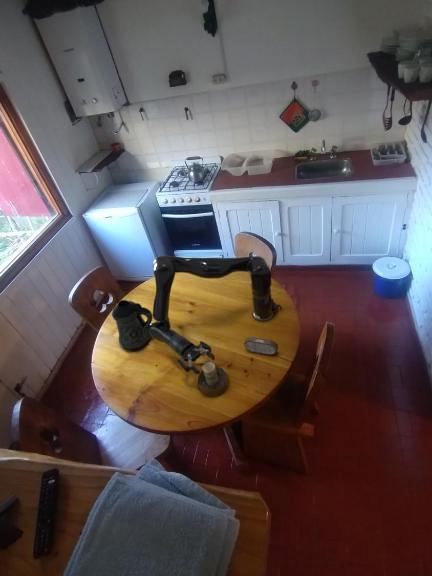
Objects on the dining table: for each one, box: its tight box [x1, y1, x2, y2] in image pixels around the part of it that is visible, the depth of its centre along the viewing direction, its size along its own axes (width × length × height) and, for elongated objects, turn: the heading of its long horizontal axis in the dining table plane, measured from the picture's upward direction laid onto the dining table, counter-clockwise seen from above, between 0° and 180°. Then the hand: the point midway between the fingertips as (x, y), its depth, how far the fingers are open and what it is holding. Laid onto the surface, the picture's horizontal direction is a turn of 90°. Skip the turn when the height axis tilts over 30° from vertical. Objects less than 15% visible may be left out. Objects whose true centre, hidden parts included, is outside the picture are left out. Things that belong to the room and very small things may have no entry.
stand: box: [197, 365, 229, 397], centre depth 145 cm, size 12×12×4 cm
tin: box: [243, 336, 279, 356], centre depth 153 cm, size 15×3×8 cm, turn 71°
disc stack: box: [202, 361, 219, 386], centre depth 142 cm, size 5×5×9 cm
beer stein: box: [111, 299, 153, 352], centre depth 166 cm, size 16×19×25 cm
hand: (206, 365), depth 140 cm, fingers open, 8 cm apart
